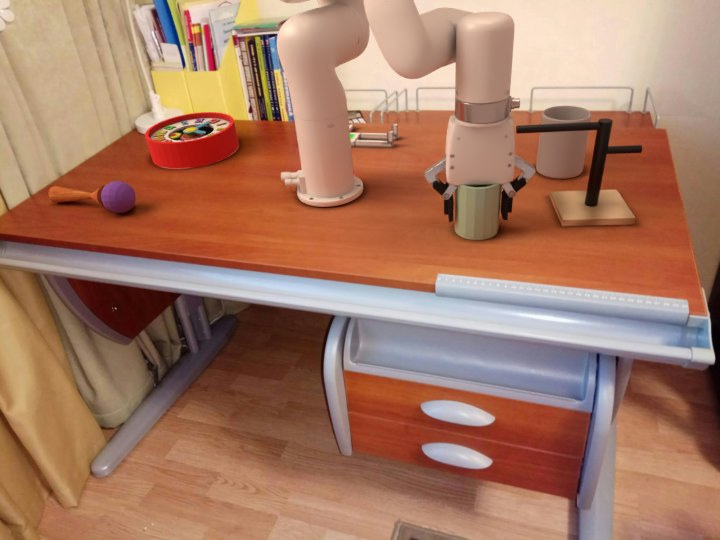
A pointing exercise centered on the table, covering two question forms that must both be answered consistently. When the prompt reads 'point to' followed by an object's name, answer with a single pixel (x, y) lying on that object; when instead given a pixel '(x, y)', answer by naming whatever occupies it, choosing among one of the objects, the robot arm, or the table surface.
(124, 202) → the purple maraca
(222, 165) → the table surface
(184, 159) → the toy clock
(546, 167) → the mug
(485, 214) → the small mug
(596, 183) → the mug holder
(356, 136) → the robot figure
